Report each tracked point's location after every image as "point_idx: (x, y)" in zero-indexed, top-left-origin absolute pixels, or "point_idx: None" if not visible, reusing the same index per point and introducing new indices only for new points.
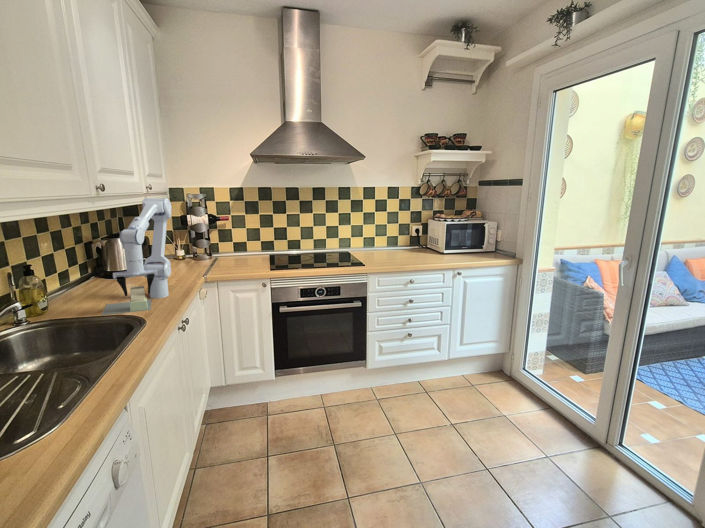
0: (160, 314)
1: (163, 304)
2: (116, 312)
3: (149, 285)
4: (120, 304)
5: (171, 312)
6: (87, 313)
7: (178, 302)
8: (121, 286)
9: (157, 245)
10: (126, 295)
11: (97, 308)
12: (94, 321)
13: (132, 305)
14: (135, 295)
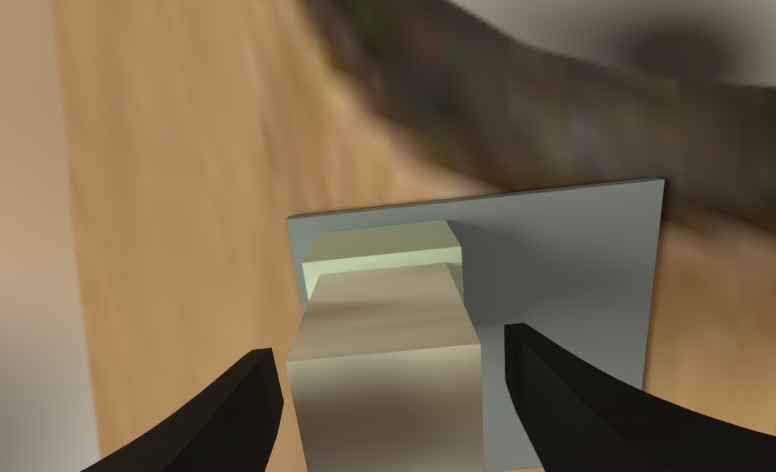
0: (187, 102)
1: None
2: (552, 228)
3: (183, 421)
4: None
5: (102, 132)
6: (742, 319)
7: (127, 396)
8: (641, 392)
9: None
10: (512, 324)
11: None
12: (698, 84)
13: (432, 237)
14: (405, 300)
